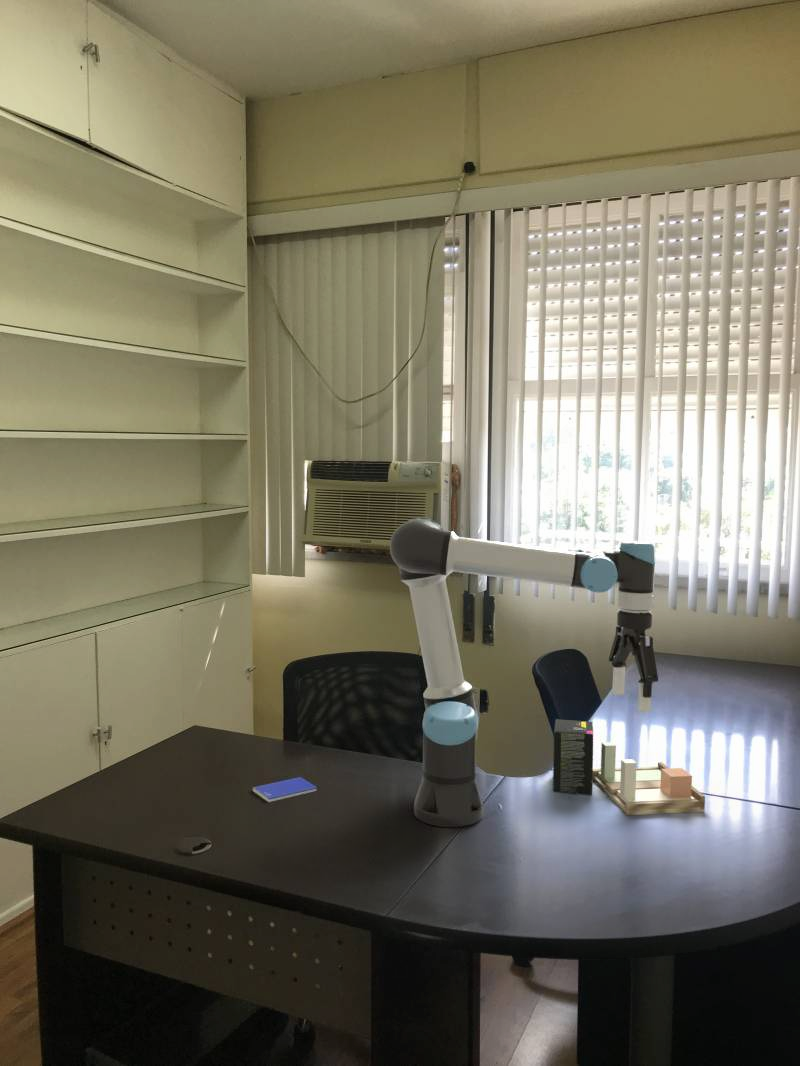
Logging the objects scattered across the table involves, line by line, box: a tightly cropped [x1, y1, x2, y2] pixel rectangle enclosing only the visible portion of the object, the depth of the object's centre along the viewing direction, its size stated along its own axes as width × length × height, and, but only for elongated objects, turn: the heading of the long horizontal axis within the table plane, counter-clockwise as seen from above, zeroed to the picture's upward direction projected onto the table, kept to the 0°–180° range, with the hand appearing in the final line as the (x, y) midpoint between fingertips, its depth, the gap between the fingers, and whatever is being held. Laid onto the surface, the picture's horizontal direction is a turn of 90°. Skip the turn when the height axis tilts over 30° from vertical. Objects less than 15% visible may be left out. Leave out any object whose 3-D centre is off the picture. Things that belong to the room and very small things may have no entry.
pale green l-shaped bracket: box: [598, 741, 661, 783], centre depth 205 cm, size 16×7×9 cm, turn 98°
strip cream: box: [617, 758, 696, 803], centre depth 194 cm, size 16×7×9 cm, turn 98°
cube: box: [660, 767, 693, 798], centre depth 194 cm, size 5×5×5 cm
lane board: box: [592, 761, 706, 816], centre depth 200 cm, size 18×22×4 cm
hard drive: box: [252, 776, 318, 803], centre depth 200 cm, size 2×8×12 cm
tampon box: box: [552, 718, 594, 795], centre depth 205 cm, size 11×9×15 cm
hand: (630, 702), depth 194 cm, fingers open, 13 cm apart
